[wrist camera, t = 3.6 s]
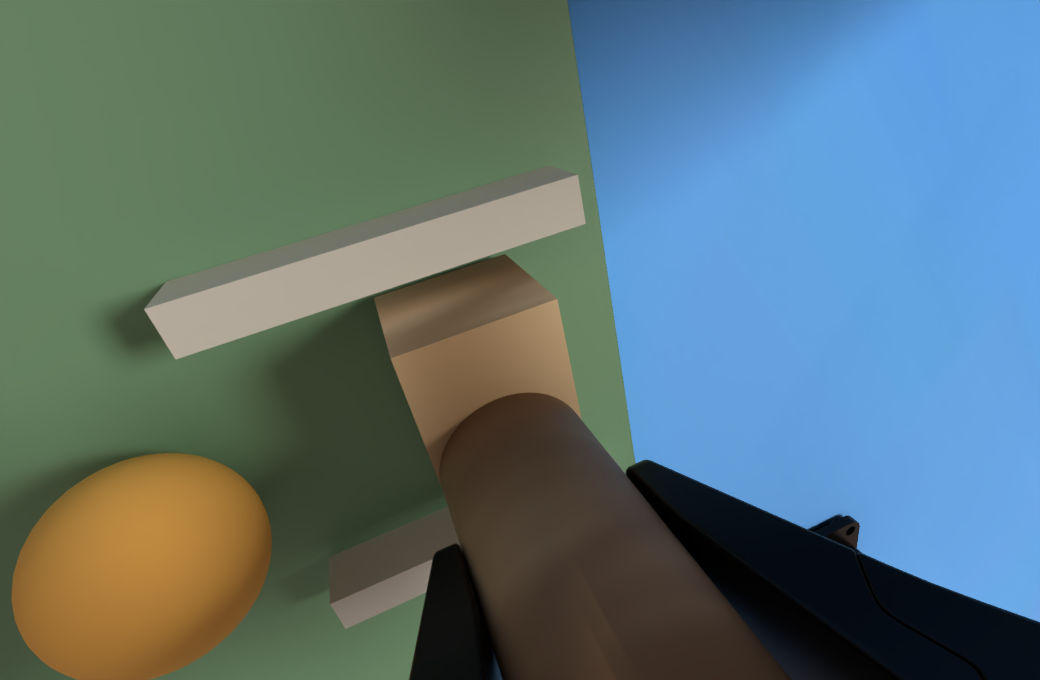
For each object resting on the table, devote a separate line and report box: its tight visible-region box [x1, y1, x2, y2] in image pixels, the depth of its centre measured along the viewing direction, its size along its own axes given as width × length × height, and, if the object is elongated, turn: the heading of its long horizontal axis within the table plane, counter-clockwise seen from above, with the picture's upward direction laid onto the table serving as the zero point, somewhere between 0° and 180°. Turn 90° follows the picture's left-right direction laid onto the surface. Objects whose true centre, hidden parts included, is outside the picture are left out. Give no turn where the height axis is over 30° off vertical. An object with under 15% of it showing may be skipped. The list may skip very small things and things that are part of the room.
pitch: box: [0, 0, 635, 680], centre depth 12 cm, size 23×20×2 cm
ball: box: [11, 453, 272, 680], centre depth 10 cm, size 4×4×4 cm
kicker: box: [374, 254, 791, 680], centre depth 9 cm, size 3×6×10 cm, turn 13°
